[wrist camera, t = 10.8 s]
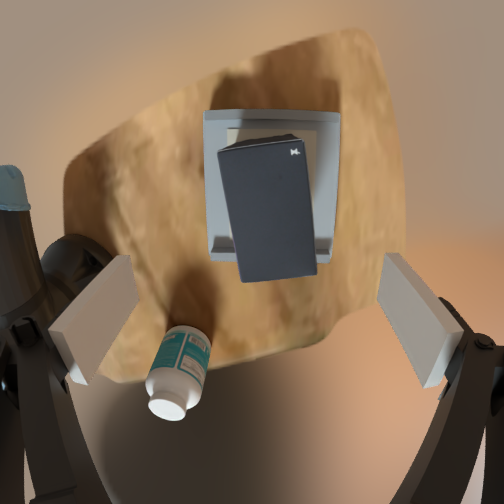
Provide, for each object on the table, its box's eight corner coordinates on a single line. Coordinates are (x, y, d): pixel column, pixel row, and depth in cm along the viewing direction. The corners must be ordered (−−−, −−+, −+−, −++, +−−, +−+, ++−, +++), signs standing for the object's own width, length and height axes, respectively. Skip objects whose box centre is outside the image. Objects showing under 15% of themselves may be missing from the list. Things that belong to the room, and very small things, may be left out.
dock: (213, 245, 37) (206, 260, 33) (208, 113, 30) (199, 110, 26) (326, 247, 36) (333, 263, 32) (334, 115, 30) (343, 113, 26)
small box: (230, 141, 29) (211, 148, 19) (294, 132, 28) (307, 134, 18) (246, 238, 33) (237, 286, 23) (306, 230, 32) (321, 276, 22)
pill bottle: (165, 353, 45) (139, 417, 32) (165, 318, 42) (133, 384, 29) (210, 363, 45) (194, 431, 33) (214, 328, 42) (196, 400, 30)
